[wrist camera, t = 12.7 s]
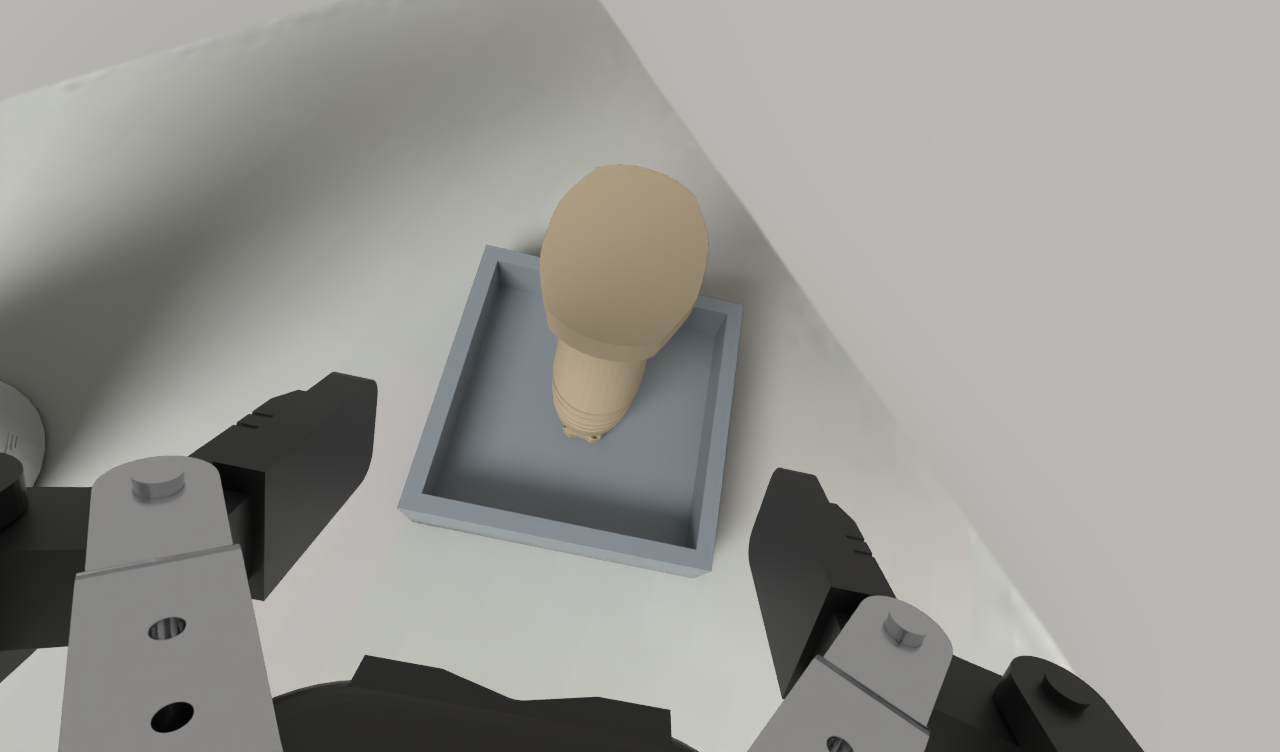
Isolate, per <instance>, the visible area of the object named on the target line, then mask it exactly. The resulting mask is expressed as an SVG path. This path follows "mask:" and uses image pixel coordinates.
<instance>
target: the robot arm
mask: <svg viewBox="0 0 1280 752" xmlns="http://www.w3.org/2000/svg"><path fill="white" fill-rule="evenodd" d="M377 393H378V391H377V384H376V382H375V381H374V380H371V379H366V378H362V377H357V376H352V375H348V374H343V373H338V372H332V373H330V374H329V375H328V376H326V377H325V378H324V379H322V380H321V381H320V382H318V383H317V384H316V385H314V386H313V387H312V388H310V389H309V390H308V391H301V390H296V391H293V392H290V393H287V394H284V395H281V396H278V397H274V398H271V399H270V400H268V401H267V402H265V403H264V404H263V405H261V406H260V407H258V408H257V409H255V410H254V411H253V412H252V415H251V414H248V415H247V416H245V417H244V418H242V419H241V420H240V421H238V422H237V425H232V426H231V427H230V428H228V429H227V430H225V431H224V432H222V433H221V434H219V435H218V436H217V437H215V438H214V439H212V440H211V441H209V442H208V443H206V444H205V445H204V446H202V447H201V448H199V449H198V450H196V451H195V452H194V453H192V454H191V455H189V456H188V457H186V456H157V457H150V458H144V459H139V460H135V461H132V462H128V463H125V464H122V465H120V466H117V467H115V468H113V469H111V470H109V471H107V472H106V473H104V474H103V475H102V476H100V477H99V478H98V479H97V480H96V482H95V483H94V484H93V487H33V486H34V483H35V481H36V479H37V477H38V475H39V473H40V471H41V466H42V462H43V458H44V453H45V430H44V427H43V424H42V421H41V418H40V415H39V413H38V412H37V410H36V409H35V407H34V406H33V405H32V403H31V402H30V400H29V399H28V398H27V397H25V396H24V395H23V394H22V393H20V392H19V391H18V390H16V389H15V388H14V387H12V386H10V385H8V384H6V383H3V382H1V381H0V683H1V682H2V681H3V680H4V679H5V678H6V677H7V676H8V675H9V674H11V673H12V672H13V671H14V670H15V669H16V668H17V667H18V666H19V665H20V664H21V663H23V662H24V661H25V660H26V659H27V658H28V657H29V656H30V655H31V654H32V653H33V652H34V651H35V650H36V649H37V648H51V647H64V646H68V655H67V665H66V676H65V686H64V696H63V707H62V717H61V727H60V737H59V748H58V752H698V751H697V750H695V749H694V748H692V747H690V746H688V745H687V744H685V743H683V742H681V741H679V740H677V739H675V738H673V737H671V716H670V710H668V709H662V708H657V707H651V706H645V705H640V704H634V703H629V702H623V701H618V700H612V699H607V698H601V697H585V698H565V699H546V700H527V701H521V700H514V699H511V698H508V697H506V696H504V695H501V694H499V693H497V692H494V691H492V690H490V689H487V688H485V687H483V686H481V685H478V684H476V683H474V682H471V681H469V680H467V679H464V678H462V677H460V676H458V675H455V674H453V673H451V672H448V671H446V670H444V669H440V668H435V667H429V666H424V665H418V664H413V663H407V662H401V661H396V660H390V659H385V658H379V657H374V656H368V655H365V656H364V658H363V660H362V662H361V663H360V665H359V667H358V669H357V671H356V673H355V674H354V676H353V678H352V680H349V681H336V682H330V683H323V684H317V685H313V686H309V687H305V688H301V689H297V690H294V691H291V692H288V693H285V694H282V695H279V696H276V697H274V698H272V697H271V692H270V687H269V682H268V677H267V672H266V667H265V663H264V658H263V653H262V648H261V643H260V638H259V633H258V628H257V624H256V619H255V614H254V609H253V604H252V599H256V600H261V601H264V600H265V599H266V598H267V597H268V595H269V594H270V593H271V592H272V591H273V589H274V588H275V587H276V586H277V585H278V583H279V582H280V581H281V580H282V579H283V577H284V576H285V575H286V574H287V572H288V571H289V570H290V569H291V568H292V566H293V565H294V564H295V563H296V562H297V560H298V559H299V558H300V557H301V555H302V554H303V553H304V552H305V551H306V549H307V548H308V547H309V546H310V545H311V543H312V542H313V541H314V540H315V539H316V537H317V536H318V535H319V534H320V532H321V531H322V530H323V529H324V528H325V526H326V525H327V524H328V523H329V522H330V520H331V519H332V518H333V517H334V516H335V514H336V513H337V512H338V511H339V509H340V508H341V507H342V506H343V505H344V503H345V502H346V501H347V500H348V499H349V497H350V496H351V495H352V494H353V492H354V491H355V490H356V489H357V488H358V486H359V485H360V484H361V483H362V481H363V479H364V478H365V476H366V474H367V471H368V469H369V466H370V462H371V458H372V453H373V442H374V430H375V418H376V406H377ZM749 564H750V568H751V572H752V576H753V580H754V584H755V588H756V592H757V597H758V601H759V605H760V609H761V613H762V617H763V621H764V625H765V630H766V634H767V638H768V642H769V646H770V650H771V654H772V658H773V663H774V667H775V671H776V675H777V679H778V683H779V687H780V691H781V696H782V699H784V701H783V702H782V704H781V705H780V706H779V708H778V709H777V711H776V712H775V713H774V715H773V716H772V718H771V719H770V720H769V722H768V723H767V725H766V726H765V727H764V729H763V730H762V732H761V733H760V734H759V736H758V737H757V739H756V740H755V741H754V743H753V744H752V746H751V747H750V749H749V750H748V751H747V752H1144V751H1143V750H1142V748H1141V747H1140V746H1139V745H1138V743H1137V742H1136V740H1135V739H1134V738H1133V736H1132V735H1131V734H1130V733H1129V731H1128V730H1127V729H1126V727H1125V726H1124V725H1123V723H1122V722H1121V721H1120V719H1119V718H1118V717H1117V715H1116V714H1115V713H1114V711H1113V710H1112V709H1111V708H1110V706H1109V705H1108V704H1107V703H1106V702H1105V700H1104V699H1103V698H1102V697H1101V696H1100V695H1099V694H1098V693H1097V692H1096V691H1095V690H1094V689H1092V688H1091V687H1090V686H1089V685H1088V684H1087V683H1085V682H1084V681H1083V680H1081V679H1080V678H1079V677H1077V676H1076V675H1074V674H1073V673H1071V672H1069V671H1068V670H1066V669H1064V668H1062V667H1060V666H1058V665H1056V664H1054V663H1052V662H1050V661H1047V660H1044V659H1041V658H1038V657H1033V656H1019V657H1016V658H1015V659H1013V661H1012V662H1011V663H1010V665H1009V667H1008V668H1007V670H1006V672H1005V673H1004V675H1003V676H1001V675H998V674H996V673H994V672H991V671H989V670H987V669H984V668H982V667H980V666H977V665H975V664H972V663H970V662H968V661H965V660H963V659H961V658H959V657H956V656H954V655H953V649H952V645H951V642H950V640H949V638H948V637H947V635H946V634H945V632H944V631H943V630H942V628H941V627H940V626H939V625H938V624H937V623H936V622H935V621H934V620H932V619H931V618H930V617H929V616H928V615H926V614H925V613H924V612H922V611H920V610H919V609H917V608H916V607H914V606H912V605H910V604H908V603H906V602H904V601H901V600H898V599H897V598H896V597H895V595H894V593H893V591H892V589H891V587H890V585H889V584H888V582H887V580H886V578H885V576H884V574H883V573H882V571H881V569H880V567H879V565H878V563H877V562H876V560H875V558H874V557H872V552H871V550H870V549H869V547H868V545H867V543H866V542H864V538H863V536H862V534H861V532H860V530H859V528H858V527H857V525H856V523H855V521H854V520H853V519H852V518H851V517H850V516H848V515H847V514H846V513H845V512H844V511H843V510H842V509H841V508H840V507H839V506H838V505H837V504H833V503H829V501H828V499H827V497H826V495H825V493H824V491H823V489H822V487H821V485H820V483H819V481H818V479H817V477H816V476H815V475H812V474H807V473H802V472H797V471H793V470H788V469H783V468H777V469H776V470H775V471H774V473H773V475H772V477H771V479H770V482H769V485H768V488H767V490H766V493H765V496H764V499H763V501H762V504H761V507H760V510H759V513H758V515H757V518H756V521H755V524H754V527H753V529H752V533H751V537H750V542H749Z"/></svg>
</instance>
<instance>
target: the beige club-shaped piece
mask: <svg viewBox="0 0 1280 752" xmlns="http://www.w3.org/2000/svg"><path fill="white" fill-rule="evenodd" d="M708 248H709V244H708V237H707V231H706V228H705V224H704V221H703V217H702V214H701V211H700V208H699V205H698V202H697V199H696V196H695V195H694V194H693V193H692V192H690V191H689V190H688V189H687V188H686V187H685V186H683V185H682V184H681V183H679V182H678V181H676V180H674V179H672V178H670V177H668V176H666V175H664V174H661V173H659V172H656V171H653V170H650V169H646V168H642V167H638V166H631V165H621V164H619V165H607V166H601V167H597V168H595V169H594V170H593V171H592V172H590V173H589V174H588V175H587V176H586V177H584V178H583V179H582V180H581V181H580V182H578V183H577V184H576V185H575V186H574V187H573V188H572V189H570V190H569V191H568V192H567V193H566V195H565V196H564V197H563V198H562V199H561V200H560V201H559V203H558V205H557V207H556V209H555V211H554V213H553V215H552V218H551V221H550V223H549V226H548V229H547V232H546V234H545V237H544V240H543V244H542V249H541V253H540V265H539V269H540V283H541V291H542V297H543V303H544V308H545V314H546V318H547V323H548V327H549V328H550V329H551V331H552V332H553V333H554V334H555V335H556V336H557V337H558V338H559V339H558V344H557V348H556V353H555V358H554V362H553V374H552V391H553V401H554V405H555V409H556V412H557V414H558V416H559V418H560V420H561V421H562V423H563V432H564V433H565V435H566V436H568V437H569V438H572V437H578V438H582V439H585V440H586V441H588V442H589V443H596V442H598V441H599V440H600V439H601V437H602V435H603V434H604V433H606V432H608V431H610V430H611V429H612V428H614V427H615V426H616V425H617V424H618V423H619V422H620V421H621V419H622V418H623V417H624V416H625V414H626V413H627V411H628V409H629V408H630V406H631V404H632V402H633V400H634V398H635V396H636V394H637V392H638V389H639V387H640V384H641V381H642V377H643V373H644V369H645V365H646V362H647V358H651V357H653V356H654V355H655V354H656V353H657V352H658V351H659V350H660V349H661V348H662V347H663V346H664V345H665V344H666V343H667V342H668V341H669V340H670V339H671V337H672V336H673V335H674V334H675V332H676V331H677V330H678V329H679V328H680V327H681V325H682V324H683V323H684V322H685V320H686V319H687V318H688V316H689V315H690V313H691V311H692V309H693V307H694V304H695V302H696V300H697V297H698V295H699V291H700V288H701V286H702V281H703V276H704V272H705V267H706V263H707V258H708Z"/></svg>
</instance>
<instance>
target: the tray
mask: <svg viewBox="0 0 1280 752" xmlns="http://www.w3.org/2000/svg"><path fill="white" fill-rule="evenodd" d="M539 265H540V257H537V256H533V255H528V254H524V253H520V252H516V251H511V250H507V249H503V248H499V247H494V246H490V245H486V247H485V250H484V253H483V256H482V259H481V262H480V265H479V268H478V271H477V274H476V277H475V280H474V283H473V286H472V289H471V292H470V295H469V297H468V300H467V303H466V306H465V309H464V312H463V315H462V318H461V321H460V324H459V327H458V330H457V333H456V336H455V339H454V342H453V345H452V348H451V351H450V354H449V356H448V359H447V362H446V365H445V368H444V371H443V374H442V377H441V380H440V383H439V386H438V389H437V392H436V395H435V398H434V401H433V404H432V407H431V410H430V413H429V415H428V418H427V421H426V424H425V427H424V430H423V433H422V436H421V439H420V442H419V445H418V448H417V451H416V454H415V457H414V460H413V463H412V466H411V469H410V472H409V474H408V477H407V480H406V483H405V486H404V489H403V492H402V495H401V498H400V501H399V504H398V507H397V508H398V509H399V510H400V511H401V512H402V513H403V514H405V515H406V516H407V517H408V518H409V519H410V520H411V521H412V522H417V523H422V524H427V525H432V526H437V527H442V528H447V529H452V530H457V531H462V532H467V533H472V534H477V535H482V536H487V537H492V538H496V539H501V540H506V541H511V542H516V543H521V544H526V545H531V546H536V547H541V548H546V549H551V550H556V551H561V552H566V553H571V554H576V555H581V556H586V557H591V558H596V559H601V560H606V561H611V562H616V563H621V564H626V565H631V566H636V567H641V568H645V569H650V570H655V571H660V572H665V573H670V574H675V575H680V576H685V577H690V578H695V577H698V576H700V575H703V574H706V573H709V572H711V571H712V562H713V554H714V546H715V538H716V529H717V521H718V513H719V504H720V496H721V488H722V479H723V471H724V463H725V454H726V446H727V438H728V430H729V421H730V413H731V405H732V396H733V388H734V380H735V371H736V363H737V355H738V346H739V338H740V330H741V322H742V313H743V305H741V304H737V303H733V302H729V301H724V300H720V299H716V298H712V297H707V296H703V295H698V297H697V300H696V302H695V304H694V307H693V309H692V311H691V313H690V315H689V316H688V318H687V319H686V320H685V322H684V323H683V324H682V325H681V327H680V328H679V329H678V330H677V331H676V332H675V334H674V335H673V336H672V337H671V339H670V340H669V341H668V342H667V343H666V344H665V345H664V346H663V347H662V348H661V349H660V350H659V351H658V352H657V353H656V354H655V355H654V356H653V357H651V358H647V362H646V365H645V369H644V373H643V377H642V381H641V384H640V387H639V389H638V392H637V394H636V396H635V398H634V400H633V402H632V404H631V406H630V408H629V409H628V411H627V413H626V414H625V416H624V417H623V418H622V419H621V421H620V422H619V423H618V424H617V425H616V426H615V427H614V428H612V429H611V430H610V431H608V432H606V433H604V434H603V435H602V437H601V439H600V440H599V441H598V442H596V443H589V442H588V441H586V440H585V439H582V438H578V437H572V438H569V437H568V436H566V435H565V433H564V432H563V423H562V421H561V420H560V418H559V416H558V414H557V412H556V409H555V405H554V401H553V391H552V374H553V362H554V358H555V353H556V348H557V344H558V339H559V338H558V337H557V336H556V335H555V334H554V333H553V332H552V331H551V329H550V328H549V327H548V323H547V318H546V314H545V308H544V303H543V297H542V291H541V283H540V269H539Z"/></svg>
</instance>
